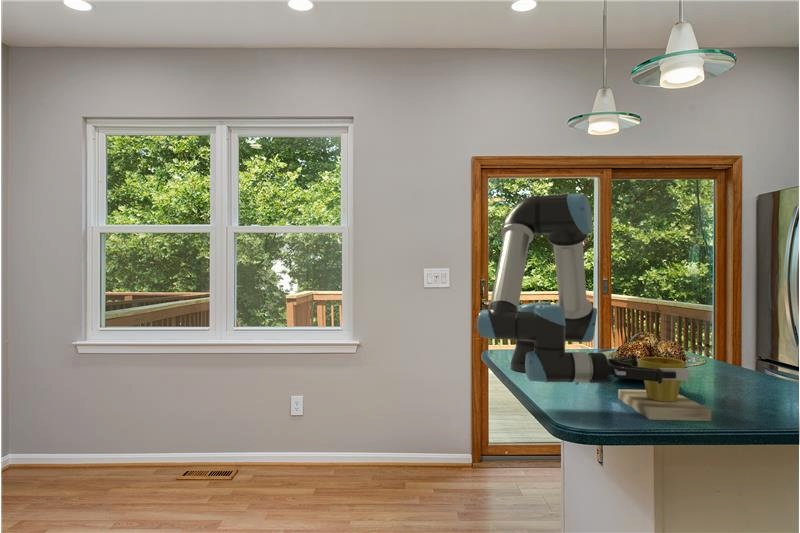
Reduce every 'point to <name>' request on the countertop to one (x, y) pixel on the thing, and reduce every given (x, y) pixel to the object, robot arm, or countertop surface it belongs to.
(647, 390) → the plant pot
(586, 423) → the countertop surface
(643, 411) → the birch stand
